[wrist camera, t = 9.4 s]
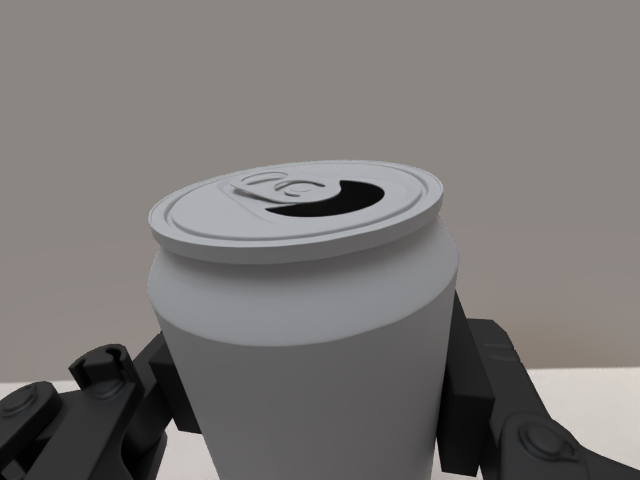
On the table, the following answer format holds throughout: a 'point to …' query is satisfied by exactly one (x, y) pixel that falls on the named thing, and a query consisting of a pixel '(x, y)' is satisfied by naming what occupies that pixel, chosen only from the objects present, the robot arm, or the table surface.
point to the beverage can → (309, 316)
